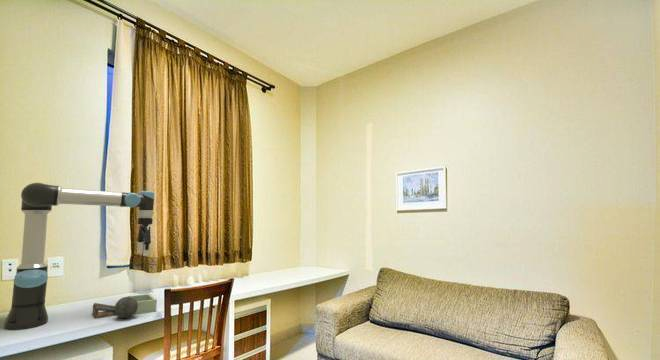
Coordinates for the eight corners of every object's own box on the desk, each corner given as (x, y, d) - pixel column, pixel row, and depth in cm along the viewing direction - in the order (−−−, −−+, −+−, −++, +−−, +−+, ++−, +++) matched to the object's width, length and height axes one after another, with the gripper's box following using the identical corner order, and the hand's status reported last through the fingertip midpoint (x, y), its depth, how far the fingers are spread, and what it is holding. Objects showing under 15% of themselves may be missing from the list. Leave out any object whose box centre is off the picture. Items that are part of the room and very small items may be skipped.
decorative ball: (108, 319, 168) (110, 298, 169) (124, 314, 178) (126, 293, 179) (125, 321, 166) (127, 300, 167) (141, 315, 176) (143, 295, 177)
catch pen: (133, 314, 177) (134, 302, 178) (126, 307, 189) (127, 296, 189) (156, 311, 184) (156, 299, 185) (148, 304, 196) (149, 293, 196)
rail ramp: (94, 318, 169) (95, 306, 170) (91, 314, 176) (92, 302, 177) (118, 315, 176) (119, 303, 176) (115, 311, 183) (116, 299, 183)
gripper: (158, 218, 197) (155, 256, 195) (146, 217, 215) (144, 252, 214) (144, 218, 192) (140, 257, 190) (133, 216, 211) (130, 252, 209)
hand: (142, 254), depth 202 cm, fingers open, 13 cm apart
